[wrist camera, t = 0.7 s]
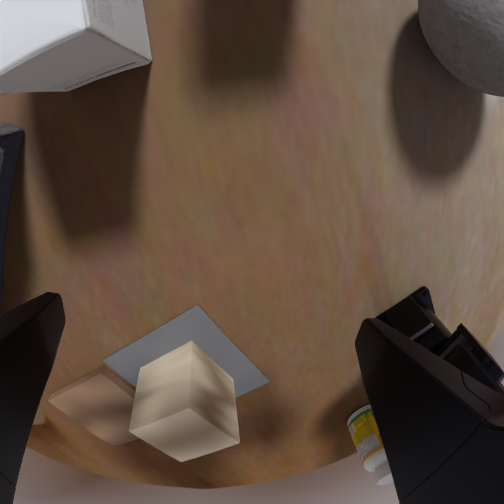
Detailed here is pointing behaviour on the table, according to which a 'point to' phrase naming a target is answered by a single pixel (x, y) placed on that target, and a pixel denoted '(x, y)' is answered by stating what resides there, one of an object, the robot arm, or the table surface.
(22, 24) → the skincare box
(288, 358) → the table surface
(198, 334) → the gray tile
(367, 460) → the supplement bottle
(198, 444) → the maple block
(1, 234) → the vhs cassette tape
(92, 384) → the walnut pad
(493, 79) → the decorative ball
